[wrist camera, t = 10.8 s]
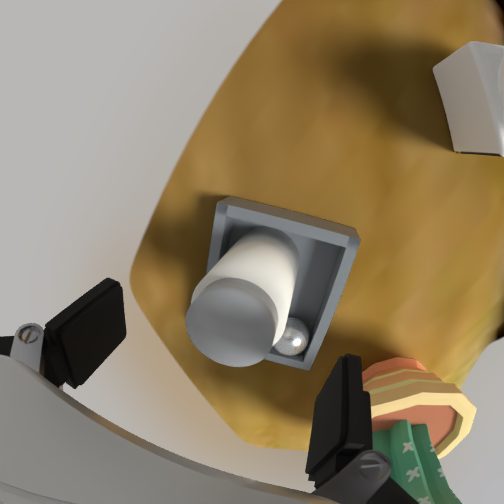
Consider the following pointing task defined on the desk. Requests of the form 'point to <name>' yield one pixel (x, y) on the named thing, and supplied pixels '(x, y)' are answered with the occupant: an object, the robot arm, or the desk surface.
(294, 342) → the steel ball
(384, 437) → the potted cactus
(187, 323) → the shaker
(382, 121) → the desk surface
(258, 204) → the tray
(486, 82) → the medicine bottle
